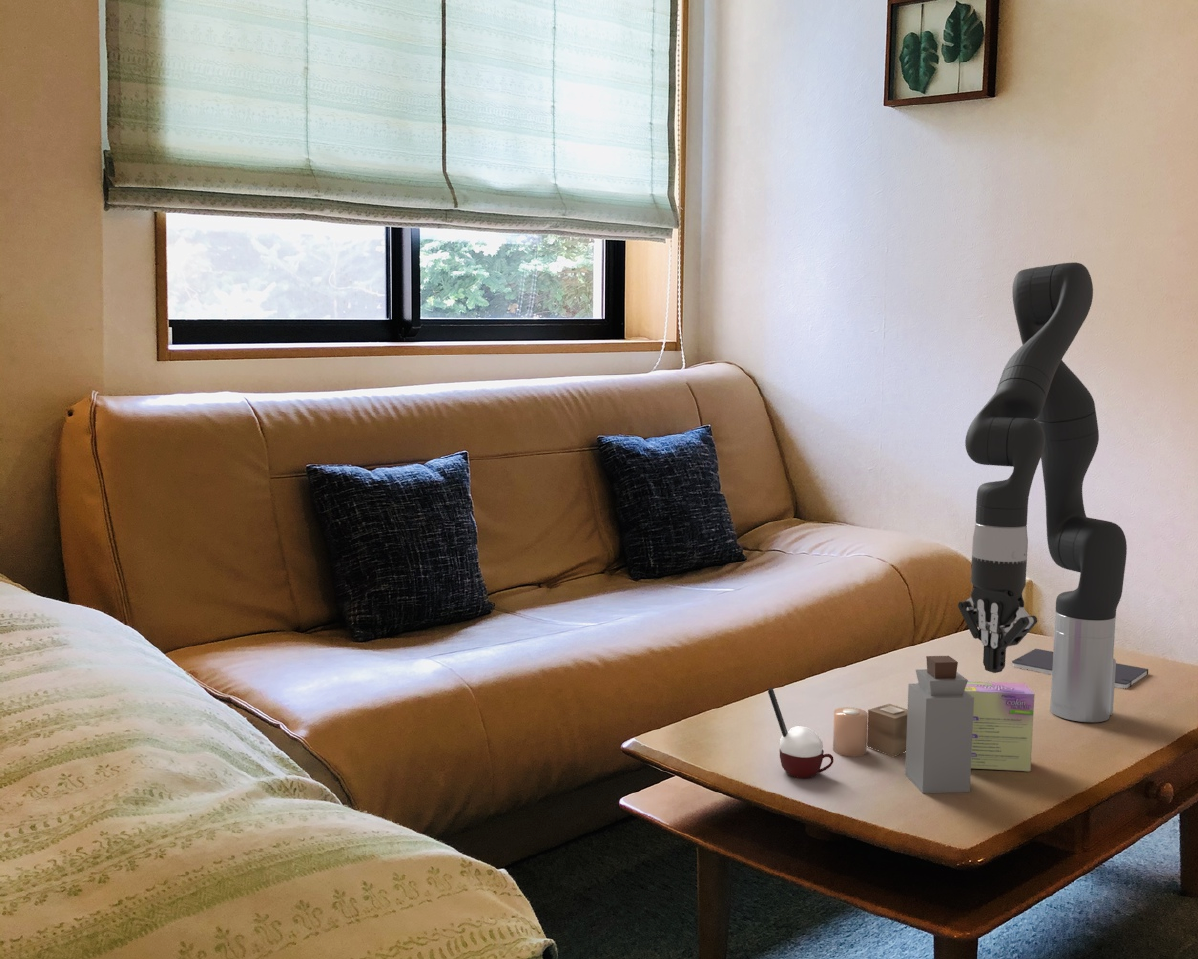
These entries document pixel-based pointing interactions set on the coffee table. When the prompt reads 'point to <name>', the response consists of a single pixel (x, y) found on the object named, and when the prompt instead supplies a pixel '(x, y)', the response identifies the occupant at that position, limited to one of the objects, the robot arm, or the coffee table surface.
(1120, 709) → the coffee table surface
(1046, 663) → the notebook
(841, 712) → the terracotta cylinder
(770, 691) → the cocoa
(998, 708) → the box
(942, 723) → the perfume bottle
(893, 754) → the walnut block
